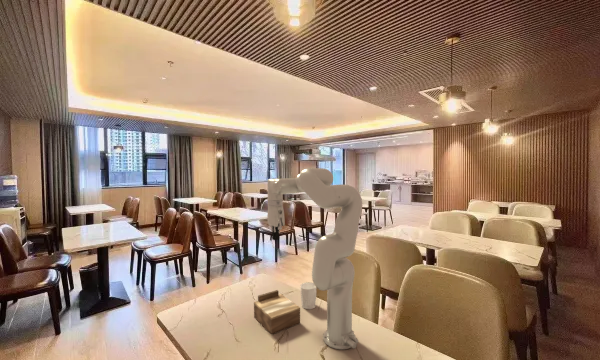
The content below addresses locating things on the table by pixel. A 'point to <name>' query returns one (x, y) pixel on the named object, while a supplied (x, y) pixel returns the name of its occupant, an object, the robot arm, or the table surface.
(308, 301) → the white cup
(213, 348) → the table surface
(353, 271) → the robot arm
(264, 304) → the tea box lid
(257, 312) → the tea box
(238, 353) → the table surface
